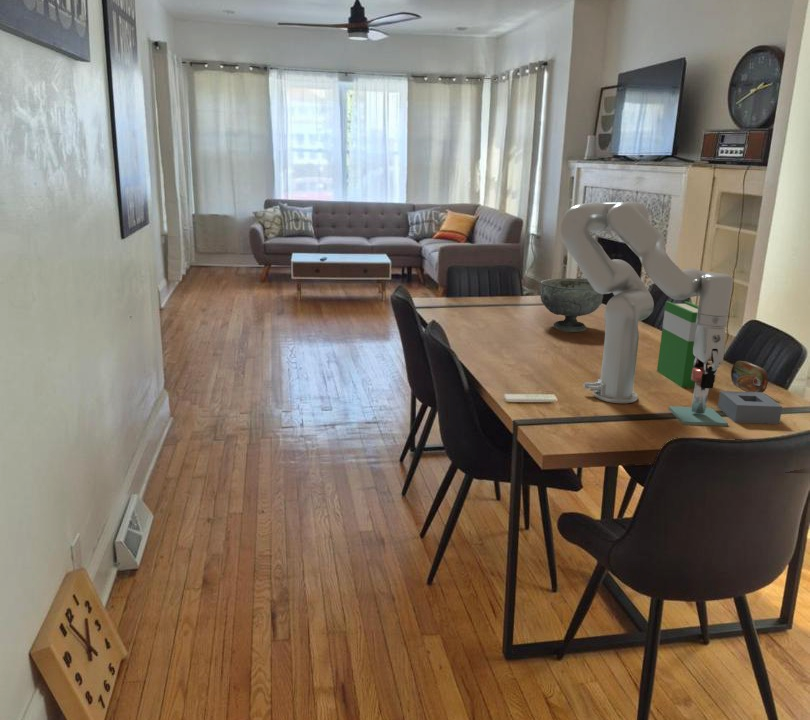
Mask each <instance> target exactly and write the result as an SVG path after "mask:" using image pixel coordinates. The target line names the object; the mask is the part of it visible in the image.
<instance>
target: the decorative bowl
mask: <svg viewBox="0 0 810 720" xmlns="http://www.w3.org/2000/svg"><path fill="white" fill-rule="evenodd" d="M539 296H540V301H541V303H542V304H543V305H544V306H545V308H546V310H548V311H549V312H550V313H552V314H554V315H556V316H564V317H565V318H564V319H563V320H558V321H555V322H554V323H553V328H554V329H556V330H558V331H561V332H568V333H581V332H585V331H586V330H587V327H586V325H585V324H584V323H583V322H581V321H578V319H577V318H578V317H582V316H586V315H590V314H591V313H594V312H595V311H597V309H599V308H600V306H601V305H602V302H603V299H604V294H600V293H597V292H596V291H595V290H594V289H593V288H592V286H591V285H590V283H589V282H588V280H587V279H586V278H567V277H566V278H550V279H545V280H544V279H543V280H541V282H540V295H539Z"/></svg>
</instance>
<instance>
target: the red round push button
mask: <svg viewBox="0 0 810 720" xmlns="http://www.w3.org/2000/svg"><path fill="white" fill-rule="evenodd" d="M702 373H704V367H694V368H693V369H692V376H691V380H692V381H694V382H695V387H693V388H694V389H693V395H692V396H693V397H692V401H691V407H692V408H691V411H692V412H694V413H699V414H703V413H705V410H706V408H707V404H708V403H707V402H708V395H709V390H710V388H701V387H700V386H701V379H702ZM716 376H717V374H716V375H715V378H714V383H715V381H716Z"/></svg>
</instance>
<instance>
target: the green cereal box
mask: <svg viewBox="0 0 810 720" xmlns="http://www.w3.org/2000/svg"><path fill="white" fill-rule="evenodd" d="M697 312H698V305H697V304H695V303H692V302H689V301H684V302H683V303H673V302H671V301H668V300H666V301H665V305H664V313H663V322H662V327H661V328H662V330H661V336H660V344H659V352H658V360H657V367H656V368H657V369H656V372H658V373H659V374H660V375H663V376H664V377H666V378H667V379H668V380H669V381H671V382H673V383H674V384H675V385H677V386H678V387H680V388H682V389H684V388H685V387H687V389H688V388H691V387H692V388H695V382H694V381H692V380H691V376H692V369H693V367H694V365H693V364H694V360H695V359H694V354H693V346H694V339H695V334H696V330H697V326H698V325H697V324H696V319H697ZM707 363H709V361H708V362H707ZM703 367H704V366H703Z"/></svg>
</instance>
